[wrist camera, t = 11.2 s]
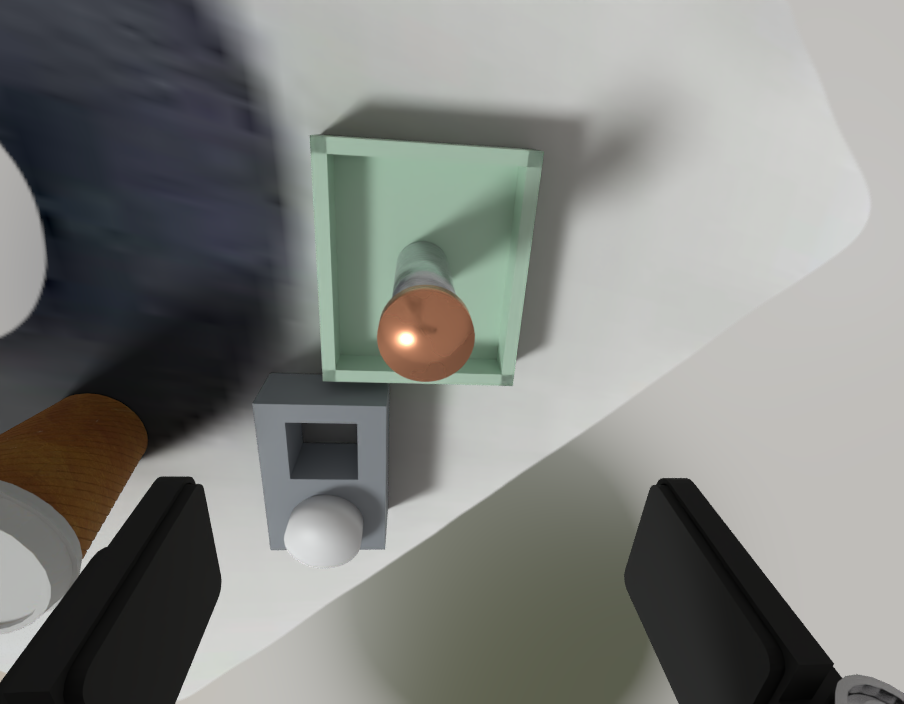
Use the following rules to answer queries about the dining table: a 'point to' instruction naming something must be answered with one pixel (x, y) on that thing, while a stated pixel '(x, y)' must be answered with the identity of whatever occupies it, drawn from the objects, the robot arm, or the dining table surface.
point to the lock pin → (424, 318)
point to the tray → (421, 219)
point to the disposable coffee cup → (59, 497)
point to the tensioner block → (323, 467)
